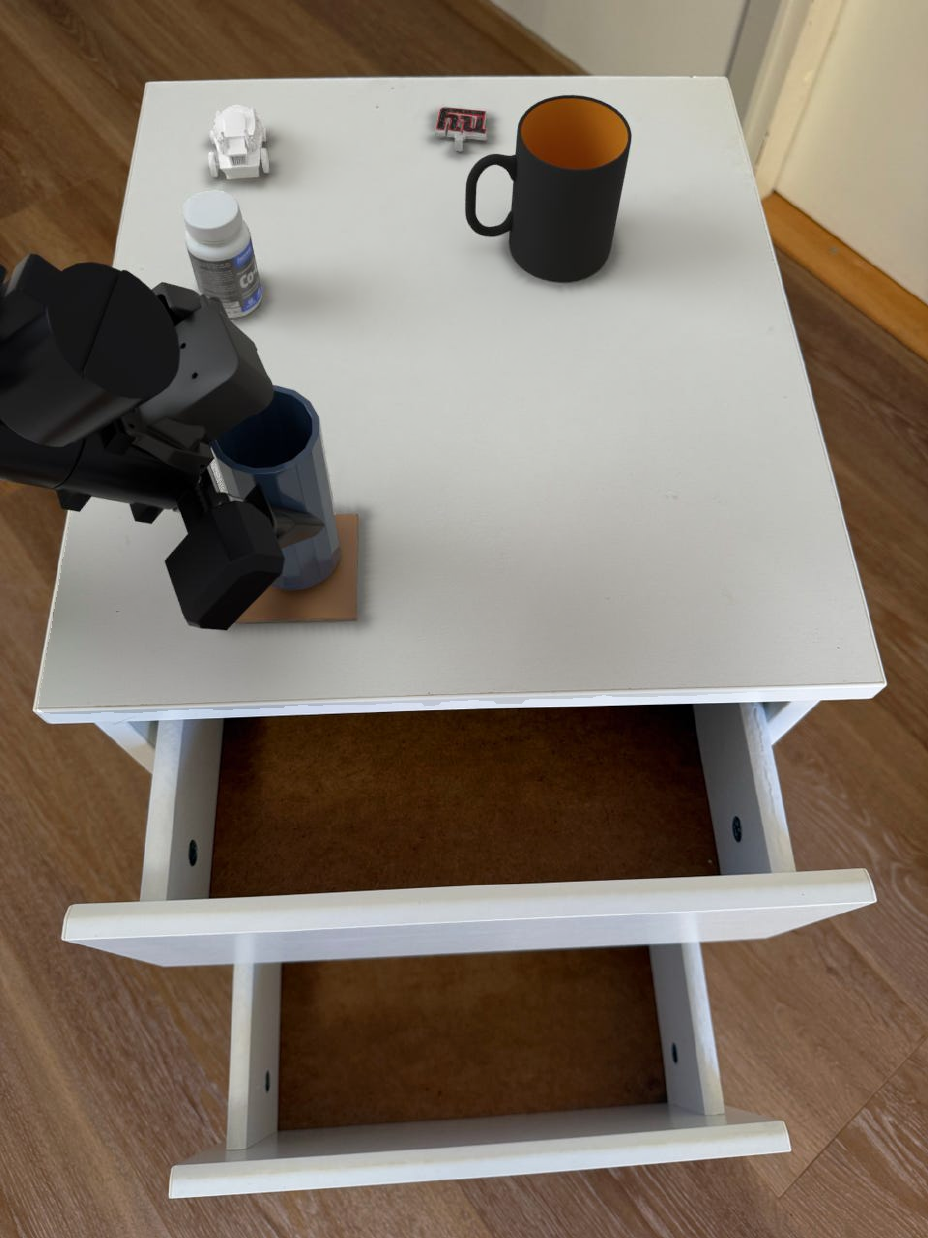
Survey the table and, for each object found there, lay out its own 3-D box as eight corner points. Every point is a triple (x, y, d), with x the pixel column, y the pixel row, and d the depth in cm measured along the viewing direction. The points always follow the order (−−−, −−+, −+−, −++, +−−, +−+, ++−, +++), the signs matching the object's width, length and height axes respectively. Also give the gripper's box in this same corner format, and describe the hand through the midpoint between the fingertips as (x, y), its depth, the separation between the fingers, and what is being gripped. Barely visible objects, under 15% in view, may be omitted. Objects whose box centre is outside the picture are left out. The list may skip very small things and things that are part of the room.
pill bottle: (259, 321, 75) (239, 233, 68) (198, 319, 75) (171, 231, 68) (266, 275, 78) (248, 186, 70) (207, 273, 78) (181, 184, 70)
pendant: (490, 108, 86) (485, 142, 83) (490, 120, 87) (484, 154, 84) (439, 103, 86) (432, 137, 83) (439, 115, 87) (432, 149, 84)
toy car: (213, 191, 82) (202, 147, 78) (210, 127, 85) (200, 83, 82) (271, 186, 82) (263, 142, 78) (265, 123, 86) (258, 79, 82)
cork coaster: (233, 623, 64) (232, 620, 63) (241, 519, 67) (240, 515, 67) (356, 620, 64) (356, 617, 64) (357, 516, 68) (357, 513, 67)
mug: (456, 217, 81) (458, 102, 72) (598, 205, 82) (618, 89, 73) (471, 291, 77) (475, 180, 68) (620, 277, 78) (643, 165, 69)
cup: (235, 576, 64) (189, 456, 52) (270, 502, 67) (234, 373, 55) (321, 601, 63) (294, 486, 52) (353, 526, 66) (335, 400, 54)
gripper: (201, 470, 39) (450, 527, 52) (89, 175, 47) (329, 284, 59) (72, 625, 45) (325, 644, 57) (-10, 338, 53) (228, 408, 65)
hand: (302, 487), depth 59 cm, fingers closed on cup, 6 cm apart
